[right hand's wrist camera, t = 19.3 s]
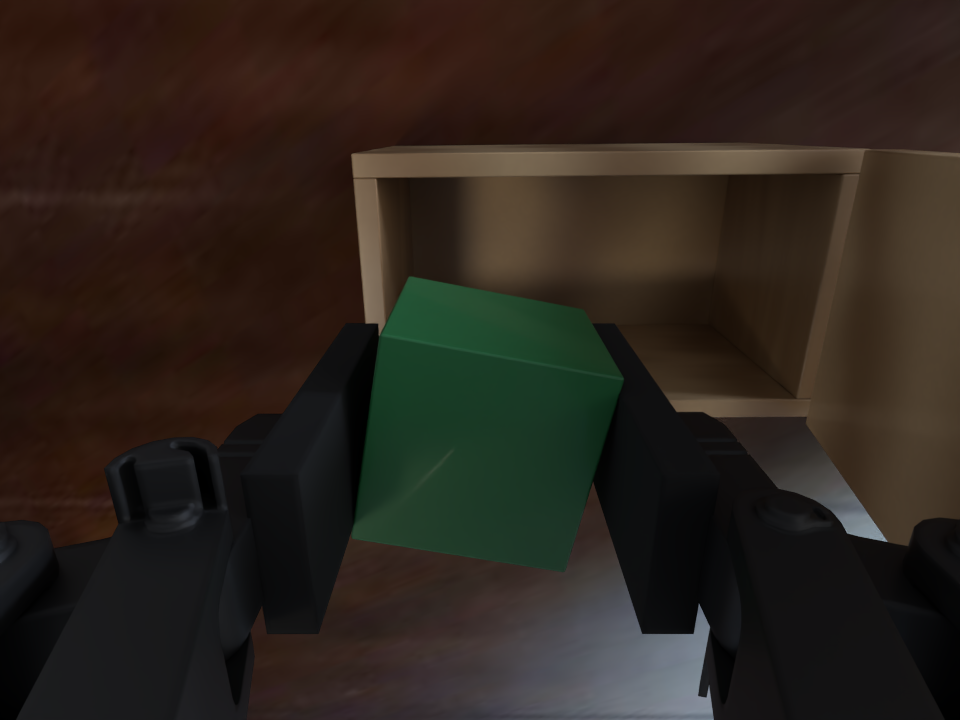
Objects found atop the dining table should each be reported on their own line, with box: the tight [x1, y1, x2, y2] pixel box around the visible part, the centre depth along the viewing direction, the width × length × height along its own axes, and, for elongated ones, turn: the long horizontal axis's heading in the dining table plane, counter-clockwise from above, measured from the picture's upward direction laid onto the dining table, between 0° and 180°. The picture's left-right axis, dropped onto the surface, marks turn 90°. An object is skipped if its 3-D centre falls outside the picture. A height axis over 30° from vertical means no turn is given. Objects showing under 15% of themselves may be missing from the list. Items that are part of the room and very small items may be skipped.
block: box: [351, 276, 624, 572], centre depth 12 cm, size 4×4×4 cm
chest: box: [351, 143, 870, 417], centre depth 26 cm, size 17×10×10 cm, turn 90°
